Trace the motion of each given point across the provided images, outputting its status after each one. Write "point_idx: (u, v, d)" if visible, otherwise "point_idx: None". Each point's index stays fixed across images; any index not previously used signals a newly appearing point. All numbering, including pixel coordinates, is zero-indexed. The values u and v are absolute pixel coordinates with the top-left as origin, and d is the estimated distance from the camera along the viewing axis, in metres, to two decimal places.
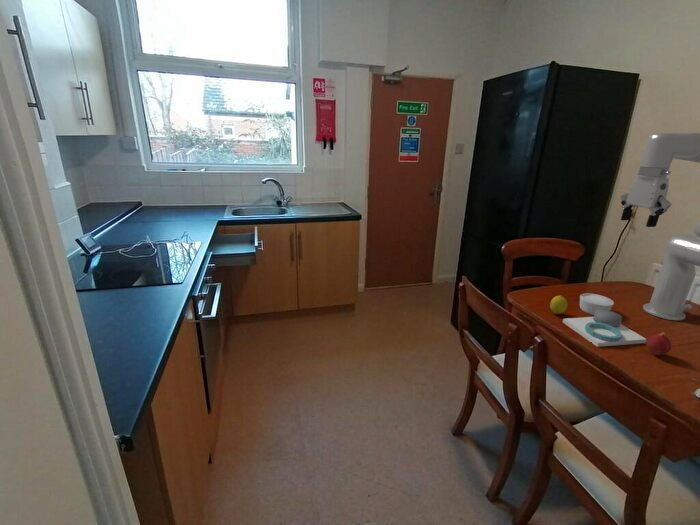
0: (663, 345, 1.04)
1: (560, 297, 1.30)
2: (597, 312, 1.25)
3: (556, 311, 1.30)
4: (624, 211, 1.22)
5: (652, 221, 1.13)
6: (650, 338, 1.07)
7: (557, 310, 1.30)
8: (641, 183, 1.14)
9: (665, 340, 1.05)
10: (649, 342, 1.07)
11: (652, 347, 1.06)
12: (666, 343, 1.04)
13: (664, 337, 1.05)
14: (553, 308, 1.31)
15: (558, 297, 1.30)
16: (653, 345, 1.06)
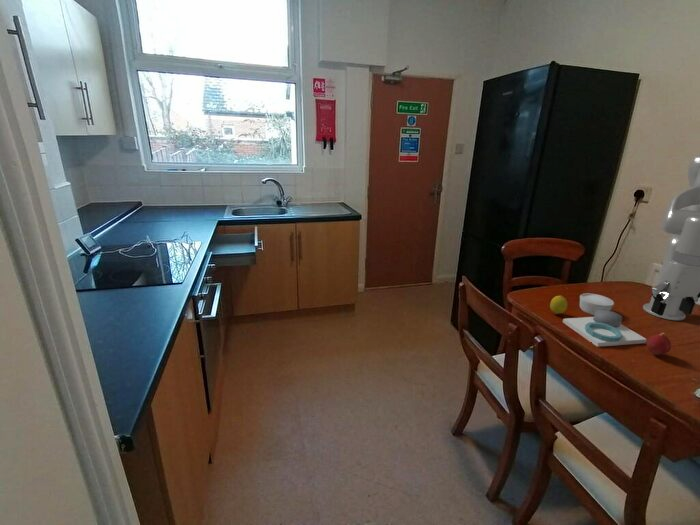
0: (663, 345, 1.04)
1: (560, 297, 1.30)
2: (597, 312, 1.25)
3: (556, 311, 1.30)
4: (665, 305, 1.00)
5: None
6: (650, 338, 1.07)
7: (557, 310, 1.30)
8: (694, 273, 0.96)
9: (665, 340, 1.05)
10: (649, 342, 1.07)
11: (652, 347, 1.06)
12: (666, 343, 1.04)
13: (664, 337, 1.05)
14: (553, 308, 1.31)
15: (558, 297, 1.30)
16: (653, 345, 1.06)
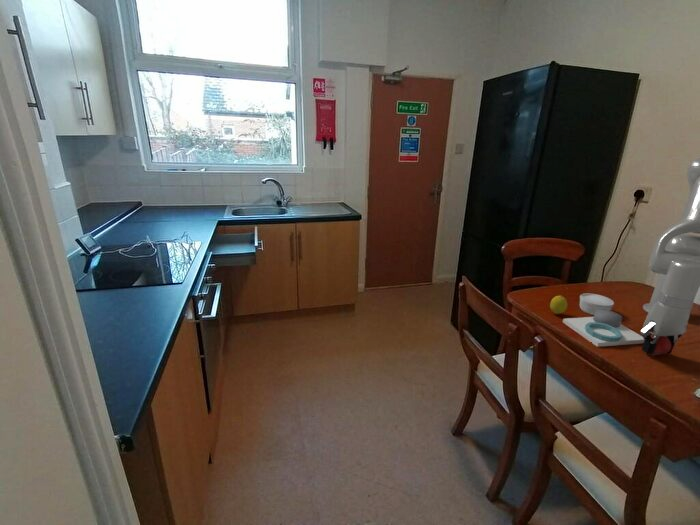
0: (663, 345, 1.04)
1: (560, 297, 1.30)
2: (597, 312, 1.25)
3: (556, 311, 1.30)
4: (655, 346, 1.05)
5: (671, 346, 1.07)
6: None
7: (557, 310, 1.30)
8: (678, 315, 1.01)
9: (665, 340, 1.05)
10: None
11: None
12: (666, 343, 1.04)
13: (664, 337, 1.05)
14: (553, 308, 1.31)
15: (558, 297, 1.30)
16: None
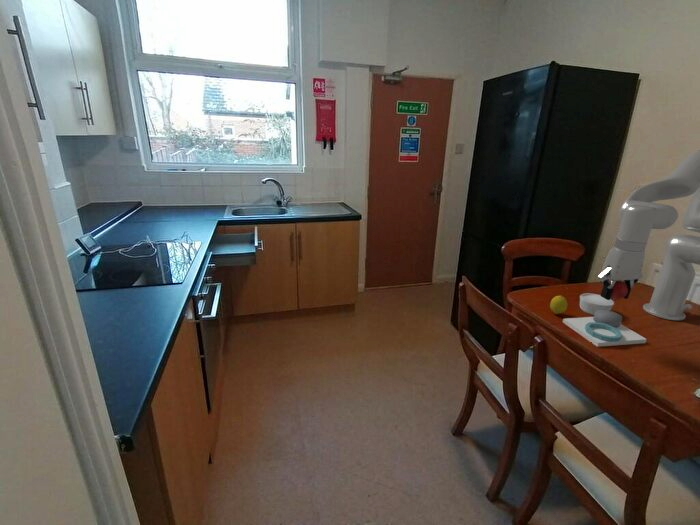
0: (620, 289, 1.08)
1: (560, 297, 1.30)
2: (597, 312, 1.25)
3: (556, 311, 1.30)
4: (612, 291, 1.09)
5: (628, 292, 1.11)
6: None
7: (557, 310, 1.30)
8: (632, 258, 1.05)
9: (622, 285, 1.09)
10: None
11: None
12: (622, 288, 1.08)
13: (621, 282, 1.09)
14: (553, 308, 1.31)
15: (558, 297, 1.30)
16: None
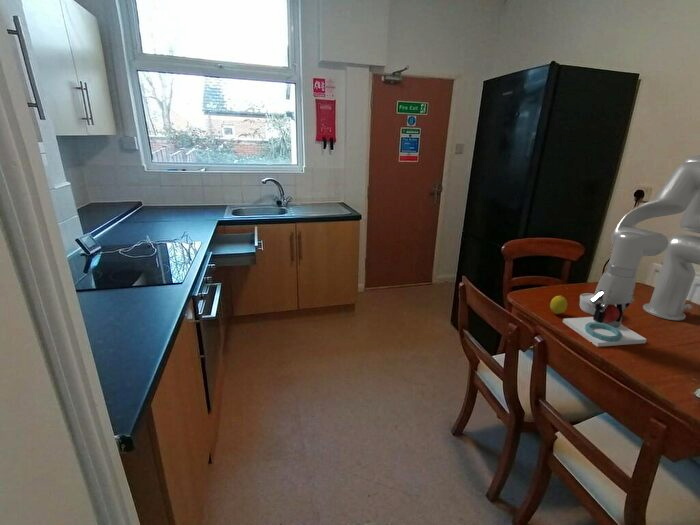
0: (612, 313, 1.11)
1: (560, 297, 1.30)
2: None
3: (556, 311, 1.30)
4: (604, 314, 1.12)
5: None
6: None
7: (557, 310, 1.30)
8: (623, 284, 1.08)
9: (614, 309, 1.12)
10: None
11: None
12: (614, 312, 1.11)
13: (613, 306, 1.12)
14: (553, 308, 1.31)
15: (558, 297, 1.30)
16: None
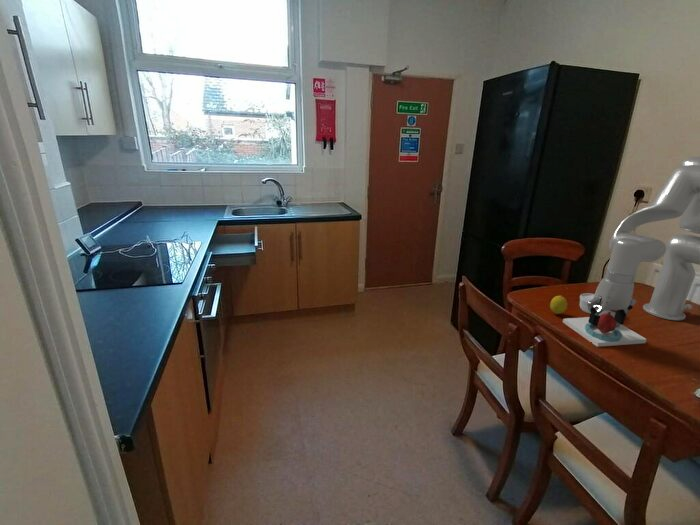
0: (609, 322, 1.13)
1: (560, 297, 1.30)
2: None
3: (556, 311, 1.30)
4: (599, 317, 1.13)
5: None
6: None
7: (557, 310, 1.30)
8: (621, 289, 1.08)
9: (611, 318, 1.14)
10: None
11: (600, 324, 1.15)
12: (611, 321, 1.13)
13: (610, 315, 1.14)
14: (553, 308, 1.31)
15: (558, 297, 1.30)
16: (600, 323, 1.15)
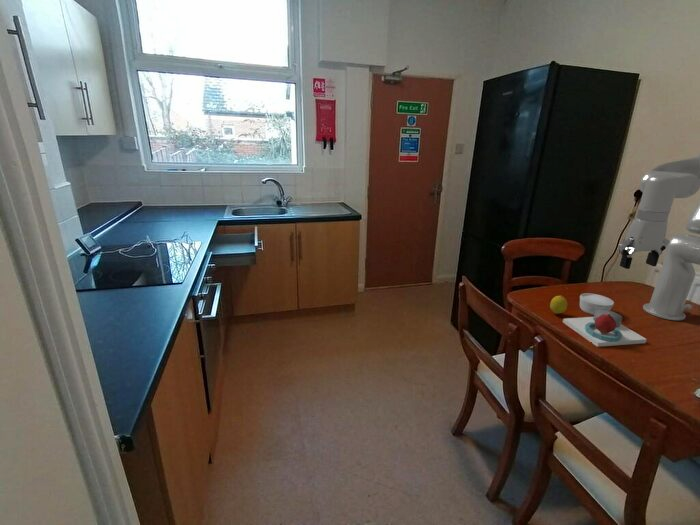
0: (608, 324, 1.13)
1: (560, 297, 1.30)
2: (597, 312, 1.25)
3: (556, 311, 1.30)
4: (631, 259, 1.10)
5: None
6: (597, 318, 1.16)
7: (557, 310, 1.30)
8: (655, 228, 1.06)
9: (610, 320, 1.13)
10: (596, 322, 1.16)
11: (599, 326, 1.15)
12: (611, 322, 1.13)
13: (609, 317, 1.14)
14: (553, 308, 1.31)
15: (558, 297, 1.30)
16: (599, 324, 1.15)
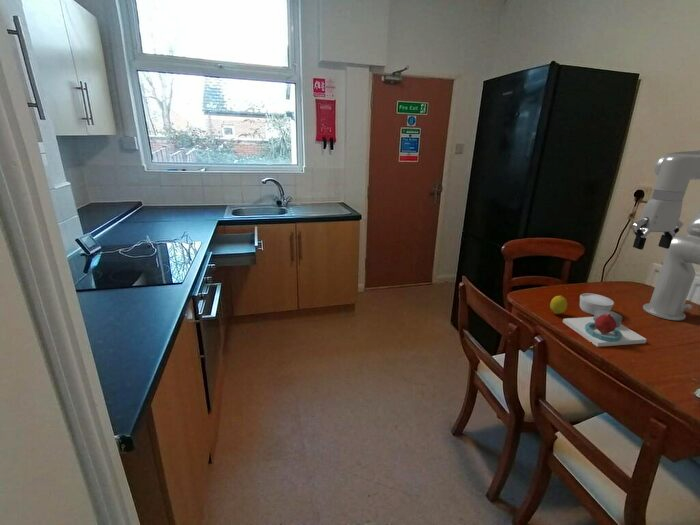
0: (608, 324, 1.13)
1: (560, 297, 1.30)
2: (597, 312, 1.25)
3: (556, 311, 1.30)
4: (645, 240, 1.10)
5: None
6: (598, 318, 1.16)
7: (557, 310, 1.30)
8: (670, 208, 1.06)
9: (610, 320, 1.13)
10: (596, 322, 1.16)
11: (599, 326, 1.15)
12: (611, 322, 1.13)
13: (609, 317, 1.14)
14: (553, 308, 1.31)
15: (558, 297, 1.30)
16: (599, 324, 1.15)
